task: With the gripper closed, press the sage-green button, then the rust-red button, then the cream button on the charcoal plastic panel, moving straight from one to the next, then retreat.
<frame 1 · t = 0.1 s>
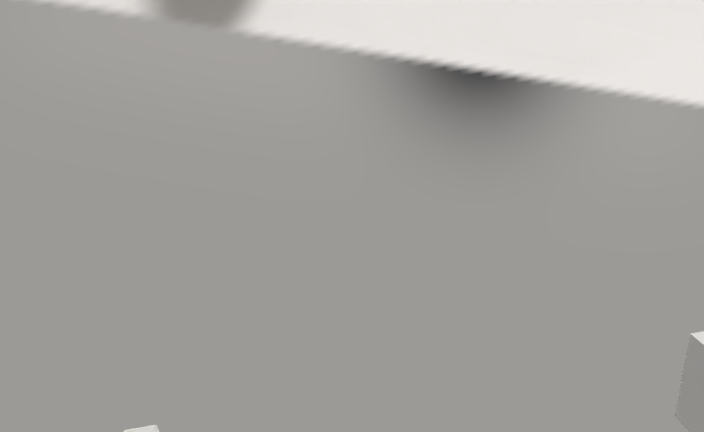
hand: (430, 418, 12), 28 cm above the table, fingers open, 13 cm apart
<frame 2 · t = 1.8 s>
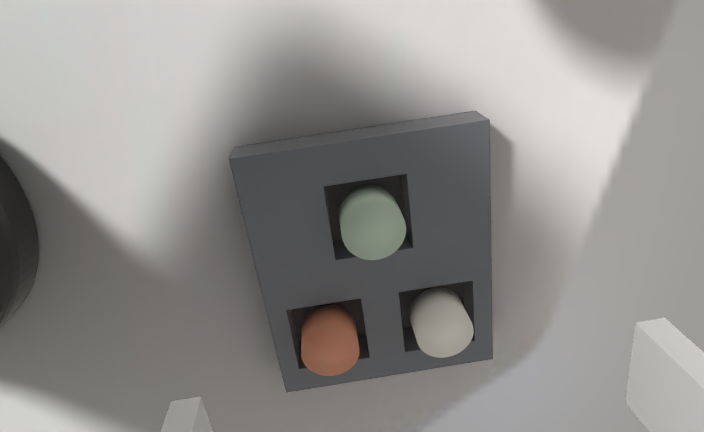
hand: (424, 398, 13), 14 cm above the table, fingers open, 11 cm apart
sage button: (371, 222, 23), point 2 cm above the table, slide at 0.0 cm
cream button: (440, 322, 26), point 2 cm above the table, slide at 0.0 cm
rust button: (329, 340, 26), point 2 cm above the table, slide at 0.0 cm
panel: (372, 252, 27), on the table
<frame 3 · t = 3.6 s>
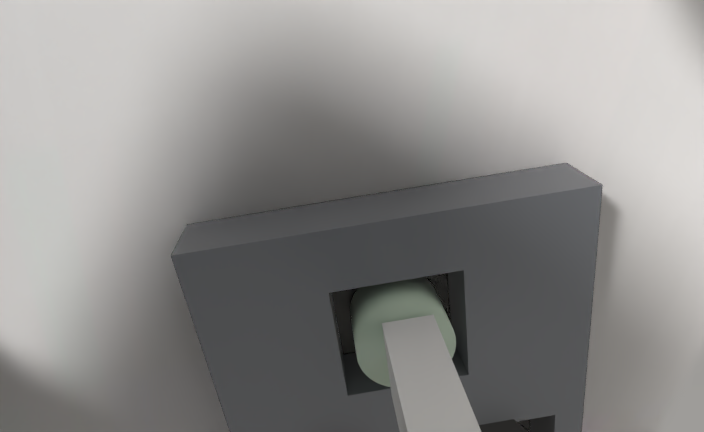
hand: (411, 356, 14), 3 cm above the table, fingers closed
sage button: (400, 327, 15), point 2 cm above the table, slide at 0.9 cm, touching gripper
panel: (400, 366, 18), on the table
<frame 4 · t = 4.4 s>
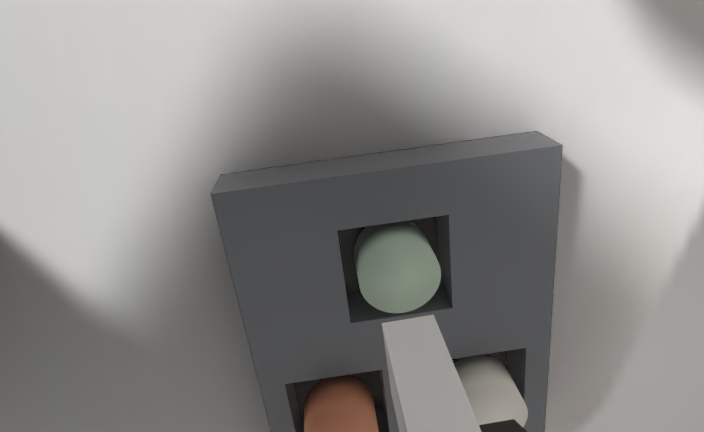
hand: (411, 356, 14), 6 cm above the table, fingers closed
sage button: (395, 264, 18), point 1 cm above the table, slide at 1.0 cm
cream button: (482, 399, 20), point 2 cm above the table, slide at 0.0 cm
rust button: (340, 421, 20), point 2 cm above the table, slide at 0.0 cm
panel: (395, 307, 21), on the table
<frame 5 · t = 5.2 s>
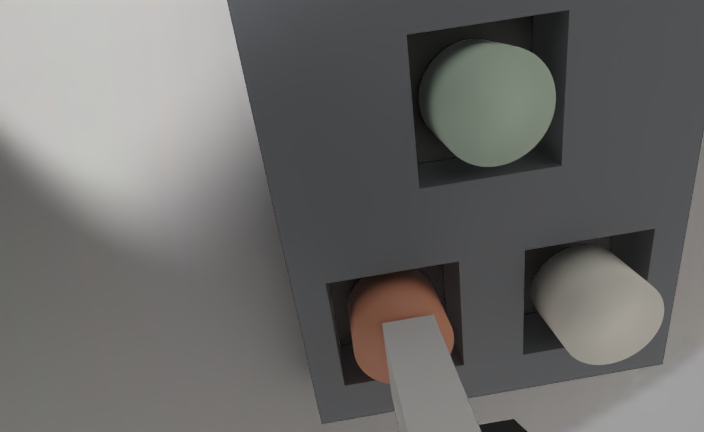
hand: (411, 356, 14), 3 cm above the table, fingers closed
sage button: (482, 101, 13), point 1 cm above the table, slide at 1.0 cm
cream button: (593, 303, 15), point 2 cm above the table, slide at 0.0 cm
rust button: (397, 323, 15), point 2 cm above the table, slide at 0.6 cm, touching gripper
panel: (469, 185, 16), on the table
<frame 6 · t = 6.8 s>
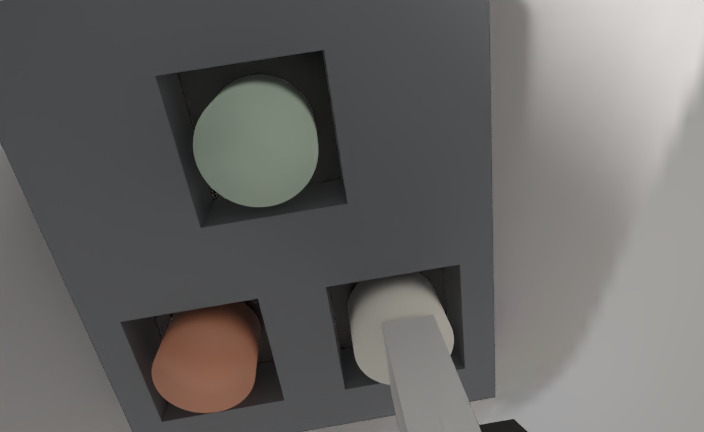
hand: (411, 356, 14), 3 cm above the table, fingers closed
sage button: (260, 139, 13), point 1 cm above the table, slide at 1.0 cm
cream button: (397, 324, 15), point 2 cm above the table, slide at 0.7 cm
rust button: (210, 351, 15), point 1 cm above the table, slide at 1.0 cm
panel: (284, 218, 15), on the table
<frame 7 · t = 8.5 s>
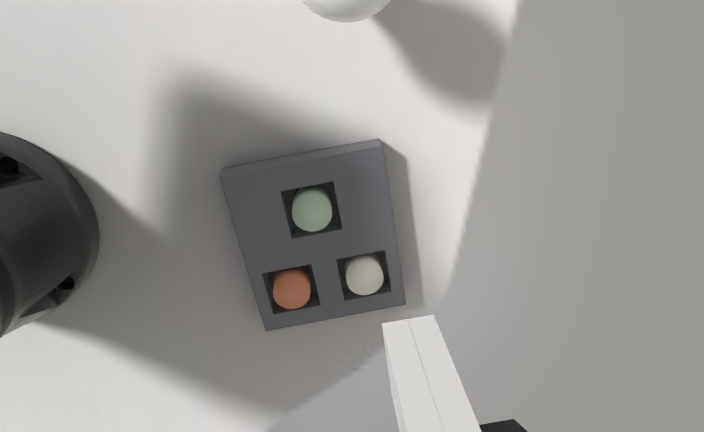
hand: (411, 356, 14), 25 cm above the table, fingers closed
sage button: (311, 208, 37), point 1 cm above the table, slide at 1.0 cm
cream button: (363, 272, 40), point 1 cm above the table, slide at 1.0 cm
rust button: (292, 286, 40), point 1 cm above the table, slide at 1.0 cm
panel: (319, 234, 40), on the table
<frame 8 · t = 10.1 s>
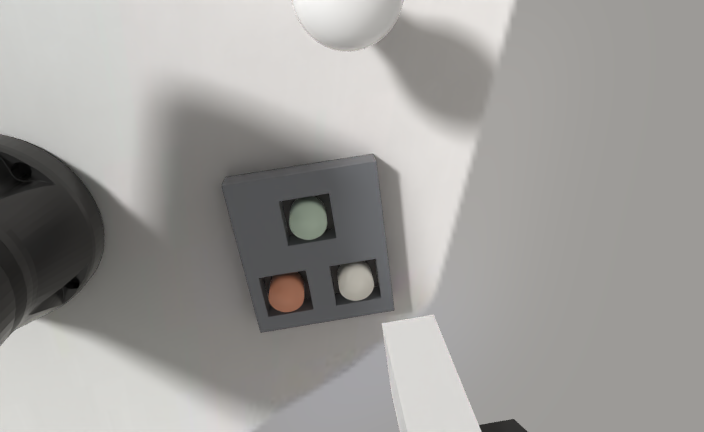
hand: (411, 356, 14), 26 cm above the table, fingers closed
sage button: (308, 217, 39), point 1 cm above the table, slide at 1.0 cm
cream button: (355, 279, 42), point 1 cm above the table, slide at 1.0 cm
rust button: (286, 290, 42), point 1 cm above the table, slide at 1.0 cm
panel: (314, 241, 42), on the table
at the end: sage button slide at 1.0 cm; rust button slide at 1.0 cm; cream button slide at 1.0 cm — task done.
